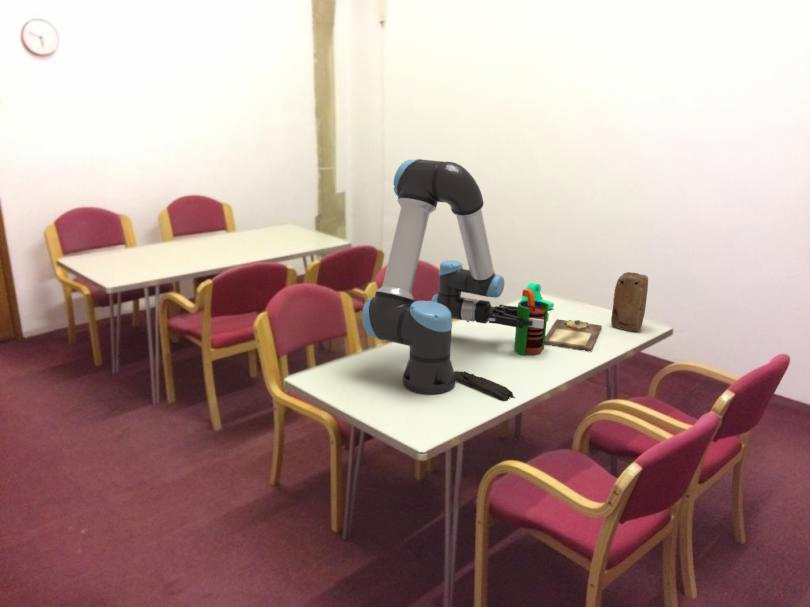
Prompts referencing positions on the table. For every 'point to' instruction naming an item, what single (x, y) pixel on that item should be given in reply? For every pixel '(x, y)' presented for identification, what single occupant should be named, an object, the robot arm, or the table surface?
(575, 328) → the mounting board
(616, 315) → the block
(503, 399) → the wood
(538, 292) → the camera mount
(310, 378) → the table surface
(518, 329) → the motor
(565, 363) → the table surface
